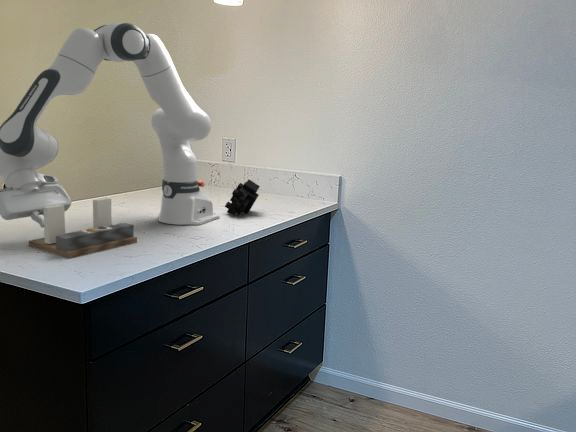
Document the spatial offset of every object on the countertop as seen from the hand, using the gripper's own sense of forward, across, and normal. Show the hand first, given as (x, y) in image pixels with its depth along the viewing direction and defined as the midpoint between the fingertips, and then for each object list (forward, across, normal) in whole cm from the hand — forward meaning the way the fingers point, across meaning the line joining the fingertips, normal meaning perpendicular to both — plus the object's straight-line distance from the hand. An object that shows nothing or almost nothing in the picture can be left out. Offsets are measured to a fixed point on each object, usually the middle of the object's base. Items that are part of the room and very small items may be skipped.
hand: (47, 225), depth 159 cm
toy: (+12, +74, -3) cm, 75 cm away
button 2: (+5, +16, +1) cm, 17 cm away
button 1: (+5, 0, +1) cm, 5 cm away
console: (+8, +8, 0) cm, 11 cm away
